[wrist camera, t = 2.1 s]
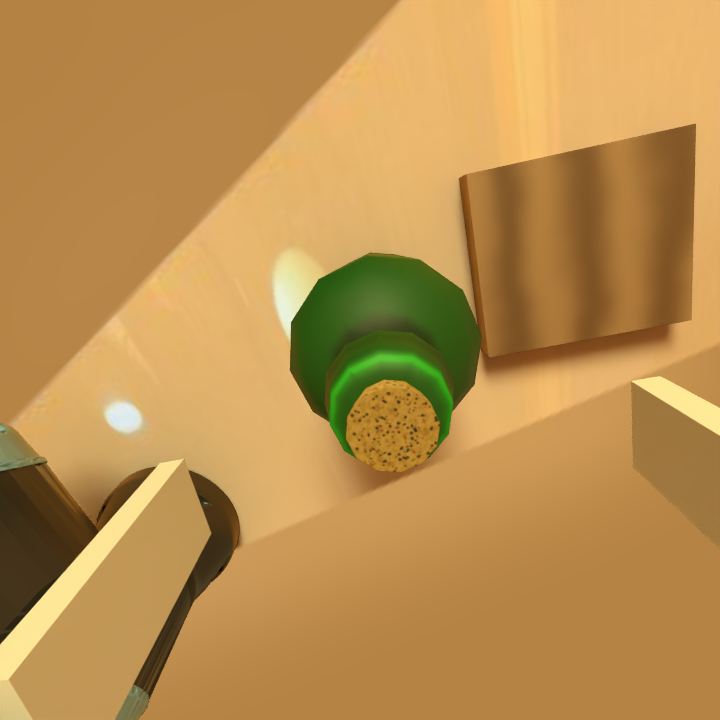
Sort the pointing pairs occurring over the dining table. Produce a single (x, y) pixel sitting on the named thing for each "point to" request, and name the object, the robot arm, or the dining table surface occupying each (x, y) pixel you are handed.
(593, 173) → the walnut riser
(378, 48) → the dining table surface
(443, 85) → the dining table surface
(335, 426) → the bottle
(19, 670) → the robot arm
